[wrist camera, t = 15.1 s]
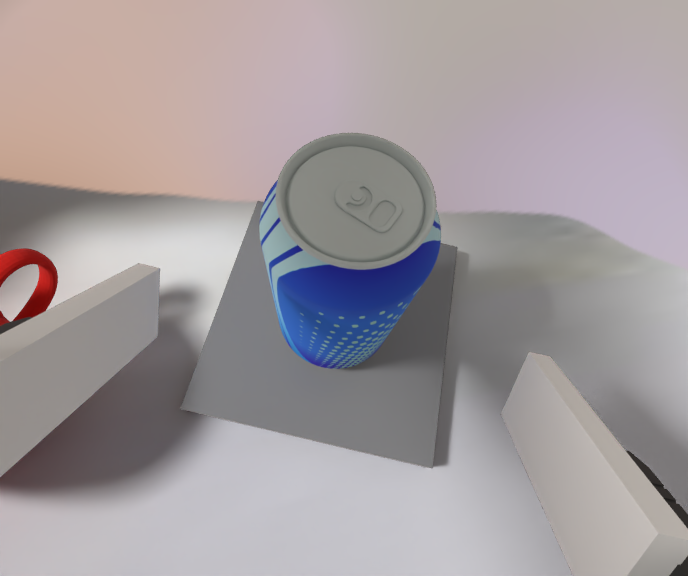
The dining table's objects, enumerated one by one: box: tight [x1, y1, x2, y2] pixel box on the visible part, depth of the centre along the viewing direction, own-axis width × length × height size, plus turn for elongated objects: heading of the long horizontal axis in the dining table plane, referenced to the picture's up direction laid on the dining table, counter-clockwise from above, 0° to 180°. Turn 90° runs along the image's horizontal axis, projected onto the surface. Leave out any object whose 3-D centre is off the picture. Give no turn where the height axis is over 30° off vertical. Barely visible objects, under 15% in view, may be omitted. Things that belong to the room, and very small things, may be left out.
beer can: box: [259, 133, 441, 369], centre depth 23 cm, size 8×8×16 cm
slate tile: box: [180, 201, 457, 468], centre depth 31 cm, size 18×18×2 cm
